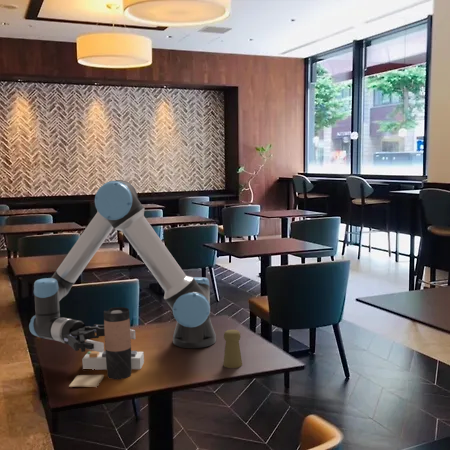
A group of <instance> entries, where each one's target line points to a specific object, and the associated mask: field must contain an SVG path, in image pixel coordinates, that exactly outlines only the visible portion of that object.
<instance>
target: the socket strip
mask: <svg viewBox="0 0 450 450" xmlns="http://www.w3.org/2000/svg"><path fill="white" fill-rule="evenodd" d="M144 353H145V352H144V351H137V350H131V370H141V369H142V368H143V365H144V363H145V355H144ZM81 360H82V370H83V369H92V370H93V371H95V370H97V371H99V370H101V371H102V370H105V371H107V365H106V353H105V350H104V352H103V353H102V352H97V351H93V350H91V351H87V352H86V354H85V355H84V356H83V358H82V359H81ZM94 369H95V370H94ZM92 370H91V371H92Z"/></svg>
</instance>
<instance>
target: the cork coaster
mask: <svg viewBox="0 0 450 450" xmlns="http://www.w3.org/2000/svg"><path fill="white" fill-rule="evenodd" d="M104 376H105V375H104V374H80V375H79V374H77V375H76V376H75V377H74V379H73V380H72V381H71V383H70V384H69V385H68V388H69V387H96V388H98V387H99V385H100V384H101V382H102V381H103V380H104ZM99 383H100V384H99ZM97 386H98V387H97Z"/></svg>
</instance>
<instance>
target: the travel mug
mask: <svg viewBox="0 0 450 450" xmlns="http://www.w3.org/2000/svg"><path fill="white" fill-rule="evenodd" d="M130 322H131V320H130V309H129V308H127V307H122V306H118V307H116V306H114V307H110V308H109V309H108V310H104V311H103V325H104V332H105V336H104V351H105V353H106V365H107V370H106V373H107V378H108V379H110V380H124V379H128V378H129V377H131V376H132V369H131V351H132V339H131V336H130V329H131V323H130Z"/></svg>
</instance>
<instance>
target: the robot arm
mask: <svg viewBox="0 0 450 450" xmlns="http://www.w3.org/2000/svg"><path fill="white" fill-rule="evenodd" d="M94 207H95V209H96V211H97V212H96V214H95V215H94V216H93V218H92V219H91V220H90V222H89V223H88V225H87V226H86V228H85V229H84V231H83V232H81V235H80V236H79V238H78V239H77V240H76V242H75V243H74V244H73V246H72V247H71V249H70V250H69V251H68V253H67V254H66V256H65V258H64V259H63V260H62V262H61V263H60V265H59V266H58V268H56V271H55V272H54V273H53V275H52V276H51V277H48V278H47V277H44V278H40V279H37V280H35V281H34V283H33V296H34V297H33V298H34V310H35V315H33V316H32V317H31V319H30V322H29V325H28V328H29V331H30V333H31V335H33V336H35V337H38V338H40V339H46V340H51V341H56V342H60V343H62V344H66V345H68V346H70V348H71V349H73V350H74V352H78V351H80V352H81V353H85V352H86V350H88V351H97V352H102V353H103V352H104V351H105V342H102V341H97V340H92V339H98V338H100V337H105V332H104V324H99V323H98V324H97V323H95V324H93V326H90V325H88V326H86V324H85V323H84V322H83V321H82V320H77V319H73V318H67V317H61V314H60V310H61V309H60V301H61V300H62V299H63V298H65V297H66V296H67V295H68V294H69V293H70V291H71V288H72V287H73V285H74V284H75V283H76V281H77V280H78V279H79V277H80V276H81V275H82V273H83V271H84V270H85V269H86V267H87V266H88V264H89V263H90V261H91V260H92V259H93V258H94V256H95V254H96V253H97V252H98V251H99V249H100V248H101V246H102V245H103V243H104V242H105V240H106V239H107V238H108V236H109V235H110V234H111V232H112V231H113V230H115V231H120V232H121V233H122V234H123V235H124V236H125V238H126V239H127V241H128V242H129V243H130V245H131V246H132V248H133V249H134V250H135V252H136V253H137V255H138V256H139V258H140V259H141V260H142V261H143V263H144V264H145V266H146V267H147V269H148V270H149V271H150V273H151V274H152V276H153V277H154V278H155V280H156V281H157V282H158V284H159V285H160V287H161V288H162V290H163V291H164V296H163V299H164V301H165V302H166V303H167V304H168V306H169V307H170V309H171V310H172V315H173V318H174V319H175V321H176V324H175V327H174V328H175V329H174V331H173V335H172V343H173V345H175V346H176V347H179V348H184V349H201V348H206V347H210V346H212V345H214V344H215V343H216V342H217V339H216V337H217V335H216V332H215V330H214V326H213V324H212V321H211V299H210V296H211V295H210V294H211V293H210V287H211V284H210V279H209V278H207V277H202V276H201V277H200V276H199V277H197V276H195V277H193V276H190V275H187V274H186V273H185V271H183V269H182V267H181V266H180V265H179V264H178V262H177V261H176V259H175V257H173V255H172V253H171V252H170V251H169V249H168V248H167V246H166V245H165V243H164V242H163V240H162V239H161V238H160V237H159V235H158V233H157V232H156V231H155V229H154V228H153V227H152V225H151V224H150V223H149V221H148V220H147V218H146V217H145V207H144V205H142V203H141V202H140V200H139V199H138V193H137V190H136V188H135V187H134V186H133V184H131V183H130V182H128V181H126V180H122V179H117V180H110V181H107V182H105V183H103V185H101V186H100V187H99V188H98V190H97V191H96V193H95V196H94ZM130 336H131V340H136V330H135V329H131V328H130Z"/></svg>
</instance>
